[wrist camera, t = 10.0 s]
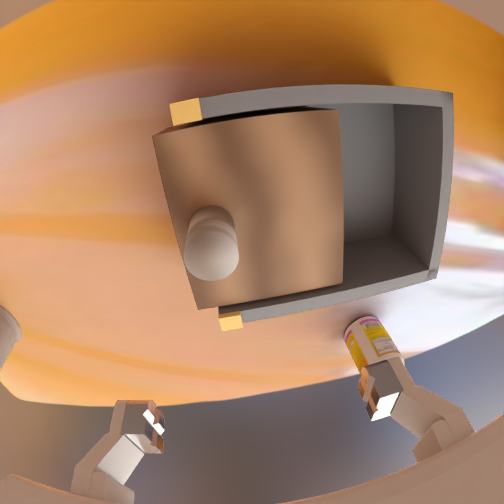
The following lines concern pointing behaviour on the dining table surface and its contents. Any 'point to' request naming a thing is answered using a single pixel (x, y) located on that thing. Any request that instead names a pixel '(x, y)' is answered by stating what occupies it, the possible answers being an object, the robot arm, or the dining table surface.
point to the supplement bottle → (369, 342)
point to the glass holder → (7, 334)
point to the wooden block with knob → (256, 202)
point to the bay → (364, 185)
